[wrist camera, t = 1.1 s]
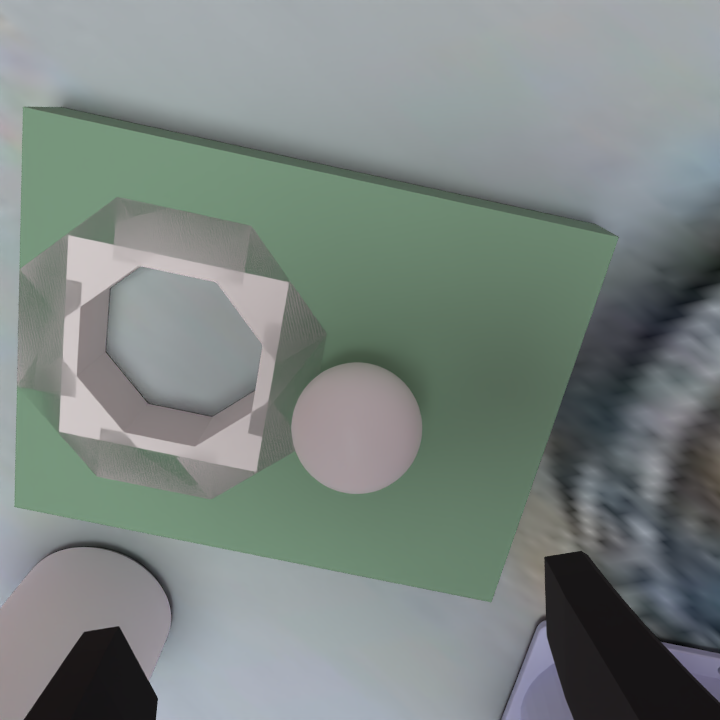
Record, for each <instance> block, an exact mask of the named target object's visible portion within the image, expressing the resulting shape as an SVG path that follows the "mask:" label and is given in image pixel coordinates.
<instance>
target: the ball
mask: <svg viewBox="0 0 720 720" xmlns="http://www.w3.org/2000/svg"><path fill="white" fill-rule="evenodd" d="M291 432H292V440H293V445H294V448H295V451H296V454H297V456H298V458H299V460H300V462H301V463H302V465H303V466H304V468H305V469H306V470H307V471H308V473H309V474H310V475H311V476H312V477H314V478H315V479H316V480H317V481H318V482H320V483H321V484H323V485H325V486H326V487H328V488H331V489H333V490H336V491H339V492H343V493H349V494H365V493H371V492H375V491H378V490H381V489H383V488H385V487H387V486H389V485H390V484H392V483H394V482H395V481H396V480H398V479H399V478H400V477H401V476H402V475H403V474H404V473H405V472H406V471H407V470H408V468H409V467H410V466H411V464H412V463H413V461H414V459H415V457H416V455H417V453H418V450H419V447H420V443H421V438H422V418H421V414H420V410H419V406H418V404H417V401H416V399H415V397H414V395H413V394H412V392H411V391H410V389H409V388H408V387H407V385H406V384H405V383H404V382H403V381H402V380H401V379H400V378H399V377H397V376H396V375H395V374H393V373H392V372H390V371H388V370H386V369H384V368H382V367H380V366H377V365H373V364H369V363H362V362H353V363H345V364H341V365H337V366H334V367H332V368H329V369H327V370H325V371H323V372H322V373H320V374H319V375H318V376H316V377H315V378H314V379H313V380H312V381H311V382H310V383H309V384H308V385H307V386H306V387H305V389H304V390H303V391H302V393H301V395H300V396H299V398H298V400H297V403H296V405H295V408H294V412H293V416H292V424H291Z"/></svg>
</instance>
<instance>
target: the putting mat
mask: <svg viewBox="0 0 720 720" xmlns="http://www.w3.org/2000/svg"><path fill="white" fill-rule="evenodd" d="M618 238H619V237H618V236H616V235H614V234H612V233H610V232H609V231H607V230H605V229H603V228H601V227H600V226H598V225H596V224H592V223H587V222H583V221H578V220H574V219H569V218H565V217H560V216H555V215H551V214H546V213H542V212H537V211H533V210H528V209H523V208H519V207H514V206H510V205H505V204H501V203H496V202H492V201H487V200H482V199H478V198H473V197H469V196H464V195H460V194H455V193H450V192H446V191H441V190H437V189H432V188H428V187H423V186H419V185H414V184H409V183H405V182H400V181H396V180H391V179H387V178H382V177H377V176H373V175H368V174H364V173H359V172H355V171H350V170H346V169H341V168H336V167H332V166H327V165H323V164H318V163H314V162H309V161H304V160H300V159H295V158H291V157H286V156H282V155H277V154H272V153H268V152H263V151H259V150H254V149H250V148H245V147H241V146H236V145H231V144H227V143H222V142H218V141H213V140H209V139H204V138H199V137H195V136H190V135H186V134H181V133H177V132H172V131H168V130H163V129H158V128H154V127H149V126H145V125H140V124H136V123H131V122H126V121H122V120H117V119H113V118H108V117H104V116H99V115H95V114H90V113H85V112H81V111H76V110H72V109H67V108H63V107H23V135H22V181H21V228H20V274H19V321H18V367H17V414H16V460H15V507H17V508H22V509H27V510H32V511H37V512H42V513H47V514H52V515H57V516H62V517H67V518H72V519H77V520H82V521H87V522H92V523H97V524H102V525H107V526H112V527H117V528H122V529H127V530H132V531H137V532H142V533H147V534H152V535H157V536H162V537H167V538H172V539H177V540H183V541H188V542H193V543H198V544H203V545H208V546H213V547H218V548H223V549H228V550H233V551H238V552H243V553H248V554H253V555H258V556H263V557H268V558H273V559H278V560H283V561H288V562H293V563H298V564H303V565H308V566H313V567H318V568H323V569H328V570H333V571H338V572H343V573H348V574H353V575H358V576H363V577H368V578H373V579H378V580H383V581H388V582H393V583H398V584H403V585H408V586H413V587H418V588H423V589H428V590H433V591H438V592H443V593H448V594H453V595H458V596H463V597H468V598H473V599H478V600H483V601H488V602H492V599H493V596H494V593H495V590H496V587H497V585H498V582H499V579H500V576H501V573H502V570H503V567H504V564H505V562H506V559H507V556H508V553H509V550H510V547H511V544H512V542H513V539H514V536H515V533H516V530H517V527H518V524H519V521H520V519H521V516H522V513H523V510H524V507H525V504H526V501H527V499H528V496H529V493H530V490H531V487H532V484H533V481H534V479H535V476H536V473H537V470H538V467H539V464H540V461H541V458H542V456H543V453H544V450H545V447H546V444H547V441H548V438H549V436H550V433H551V430H552V427H553V424H554V421H555V418H556V415H557V413H558V410H559V407H560V404H561V401H562V398H563V395H564V393H565V390H566V387H567V384H568V381H569V378H570V375H571V373H572V370H573V367H574V364H575V361H576V358H577V355H578V352H579V350H580V347H581V344H582V341H583V338H584V335H585V332H586V330H587V327H588V324H589V321H590V318H591V315H592V312H593V309H594V307H595V304H596V301H597V298H598V295H599V292H600V289H601V287H602V284H603V281H604V278H605V275H606V272H607V269H608V267H609V264H610V261H611V258H612V255H613V252H614V249H615V246H616V244H617V241H618ZM141 266H142V267H146V268H151V269H156V270H161V271H165V272H170V273H175V274H179V275H184V276H189V277H194V278H198V279H203V280H208V281H212V282H216V283H217V284H218V285H219V287H220V288H221V289H222V291H223V292H224V293H225V295H226V296H227V297H228V299H229V300H230V301H231V303H232V304H233V306H234V307H235V308H236V310H237V311H238V312H239V314H240V315H241V316H242V318H243V319H244V320H245V322H246V323H247V325H248V326H249V327H250V329H251V330H252V331H253V333H254V334H255V335H256V337H257V338H258V339H259V341H260V342H261V343H262V345H263V346H262V352H261V358H260V364H259V370H258V376H257V382H256V389H255V391H254V392H252V393H250V394H249V395H247V396H245V397H244V398H242V399H241V400H239V401H237V402H236V403H234V404H232V405H231V406H229V407H228V408H226V409H224V410H223V411H221V412H219V413H218V414H216V415H214V416H213V417H210V416H205V415H200V414H196V413H191V412H186V411H181V410H176V409H171V408H166V407H162V406H157V405H152V404H148V403H147V402H146V401H145V399H144V398H143V397H142V396H141V395H140V393H139V392H138V391H137V390H136V389H135V387H134V386H133V385H132V384H131V382H130V381H129V380H128V379H127V378H126V376H125V375H124V374H123V373H122V371H121V370H120V369H119V368H118V367H117V365H116V364H115V363H114V362H113V361H112V359H111V358H110V357H109V356H108V354H107V353H106V352H105V350H106V337H107V323H108V309H109V295H110V288H111V287H112V286H114V285H115V284H117V283H118V282H120V281H121V280H122V279H124V278H125V277H127V276H128V275H130V274H131V273H132V272H134V271H135V270H137V269H138V268H140V267H141ZM353 362H362V363H369V364H373V365H377V366H380V367H382V368H384V369H386V370H388V371H390V372H392V373H393V374H395V375H396V376H397V377H399V378H400V379H401V380H402V381H403V382H404V383H405V384H406V385H407V387H408V388H409V389H410V391H411V392H412V394H413V395H414V397H415V399H416V401H417V404H418V406H419V410H420V414H421V418H422V438H421V443H420V447H419V450H418V453H417V455H416V457H415V459H414V461H413V463H412V464H411V466H410V467H409V468H408V470H407V471H406V472H405V473H404V474H403V475H402V476H401V477H400V478H399V479H398V480H396V481H395V482H394V483H392V484H390V485H389V486H387V487H385V488H383V489H381V490H378V491H375V492H371V493H365V494H349V493H343V492H339V491H336V490H333V489H331V488H328V487H326V486H325V485H323V484H321V483H320V482H318V481H317V480H316V479H315V478H314V477H312V476H311V475H310V474H309V473H308V471H307V470H306V469H305V468H304V466H303V465H302V463H301V462H300V460H299V458H298V456H297V454H296V451H295V448H294V445H293V440H292V432H291V424H292V416H293V412H294V408H295V405H296V403H297V400H298V398H299V396H300V395H301V393H302V391H303V390H304V389H305V387H306V386H307V385H308V384H309V383H310V382H311V381H312V380H313V379H314V378H315V377H316V376H318V375H319V374H320V373H322V372H323V371H325V370H327V369H329V368H332V367H334V366H337V365H341V364H345V363H353Z"/></svg>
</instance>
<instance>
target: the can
mask: <svg viewBox="0 0 720 720" xmlns="http://www.w3.org/2000/svg"><path fill="white" fill-rule="evenodd" d="M116 626H119V627H120V629H121V630H122V632H123V634H124V636H125V638H126V640H127V642H128V643H129V645H130V647H131V649H132V651H133V653H134V655H135V657H136V658H137V660H138V662H139V664H140V666H141V668H142V670H143V671H144V673H145V675H146V677H147V679H148V681H149V680H150V678H151V676H152V673H153V671H154V669H155V666H156V664H157V661H158V659H159V657H160V654H161V652H162V649H163V647H164V644H165V642H166V639H167V637H168V634H169V630H170V626H171V609H170V605H169V602H168V599H167V596H166V594H165V592H164V590H163V589H162V587H161V586H160V584H159V583H158V581H157V580H156V578H155V577H154V576H153V575H152V574H151V573H150V572H149V571H148V570H147V569H146V568H145V567H144V566H143V565H141V564H140V563H138V562H137V561H135V560H134V559H132V558H130V557H128V556H126V555H124V554H122V553H119V552H116V551H113V550H109V549H104V548H96V547H76V548H69V549H64V550H61V551H58V552H55V553H53V554H51V555H49V556H47V557H45V558H44V559H42V560H41V561H40V562H39V563H38V564H37V565H36V566H35V567H34V568H33V569H32V570H31V571H30V572H29V574H28V575H27V576H26V577H25V578H24V580H23V581H22V582H21V583H20V585H19V586H18V587H17V588H16V590H15V591H14V592H13V593H12V594H11V596H10V597H9V598H8V600H7V601H6V602H5V603H4V605H3V606H2V607H1V608H0V720H24V718H25V717H26V715H27V714H28V712H29V711H30V710H31V708H32V707H33V705H34V704H35V702H36V701H37V699H38V698H39V696H40V695H41V693H42V692H43V691H44V689H45V688H46V686H47V685H48V683H49V682H50V680H51V679H52V677H53V676H54V674H55V673H56V671H57V670H58V668H59V667H60V666H61V664H62V663H63V661H64V660H65V658H66V657H67V655H68V654H69V652H70V651H71V649H72V648H73V647H74V645H75V644H76V642H77V641H78V639H79V638H80V637H81V635H82V634H83V633H84V632H86V631H92V630H98V629H104V628H110V627H116Z"/></svg>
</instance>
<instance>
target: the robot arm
mask: <svg viewBox="0 0 720 720" xmlns="http://www.w3.org/2000/svg"><path fill="white" fill-rule="evenodd" d="M544 559H545V595H546V621H543V622H541V623H540V624H539V625H538V627H537V629H536V631H535V634H534V637H533V639H532V642H531V644H530V647H529V650H528V652H527V655H526V657H525V660H524V662H523V665H522V668H521V670H520V673H519V675H518V678H517V681H516V683H515V686H514V688H513V691H512V693H511V696H510V699H509V701H508V704H507V706H506V709H505V712H504V714H503V717H502V719H501V720H720V654H719V653H714V652H709V651H704V650H699V649H694V648H689V647H684V646H679V645H674V644H669V643H664V642H661V641H660V640H659V639H658V638H657V637H656V636H655V635H654V634H653V633H652V632H651V631H650V629H649V628H648V627H647V626H646V625H645V624H644V623H643V622H642V621H641V619H640V618H639V617H638V616H637V615H636V614H635V612H634V611H633V610H632V609H631V608H630V607H629V606H628V604H627V603H626V602H625V601H624V600H623V599H622V597H621V596H620V595H619V594H618V593H617V591H616V590H615V589H614V588H613V587H612V585H611V584H610V583H609V582H608V580H607V579H606V578H605V577H604V575H603V574H602V573H601V572H600V570H599V569H598V568H597V567H596V565H595V564H594V563H593V561H592V560H591V559H590V557H589V556H588V555H587V554H585V553H584V552H582V551H578V552H572V553H566V554H560V555H553V556H547V557H544ZM157 701H158V698H157V696H156V694H155V692H154V690H153V688H152V686H151V685H150V683H149V681H148V679H147V677H146V675H145V673H144V671H143V670H142V668H141V666H140V664H139V662H138V660H137V658H136V657H135V655H134V653H133V651H132V649H131V647H130V645H129V643H128V642H127V640H126V638H125V636H124V634H123V632H122V630H121V629H120V627H119V626H116V627H110V628H104V629H98V630H92V631H86V632H84V633H83V634H82V635H81V637H80V638H79V639H78V641H77V642H76V644H75V645H74V647H73V648H72V649H71V651H70V652H69V654H68V655H67V657H66V658H65V660H64V661H63V663H62V664H61V666H60V667H59V668H58V670H57V671H56V673H55V674H54V676H53V677H52V679H51V680H50V682H49V683H48V685H47V686H46V688H45V689H44V691H43V692H42V693H41V695H40V696H39V698H38V699H37V701H36V702H35V704H34V705H33V707H32V708H31V710H30V711H29V712H28V714H27V715H26V717H25V718H24V720H156V712H157Z"/></svg>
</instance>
